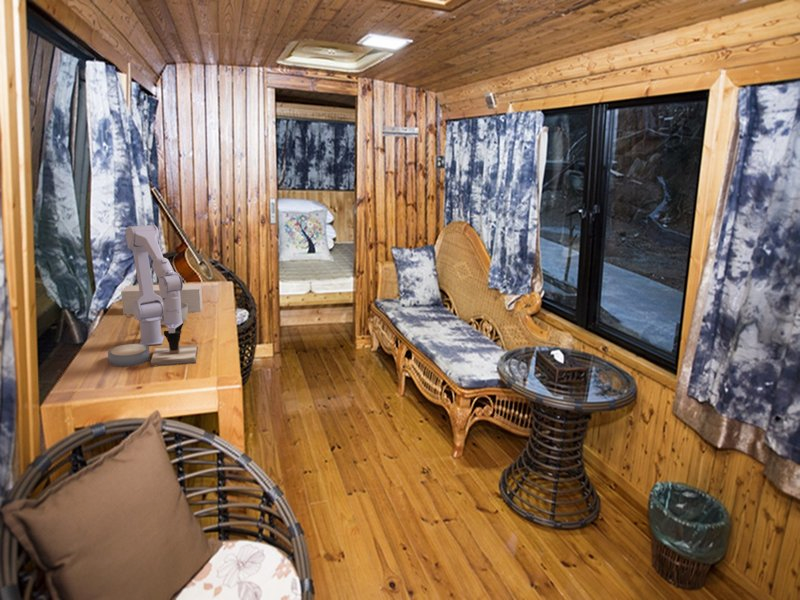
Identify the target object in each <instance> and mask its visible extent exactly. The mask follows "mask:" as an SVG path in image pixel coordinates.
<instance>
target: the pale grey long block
mask: <svg viewBox="0 0 800 600" xmlns="http://www.w3.org/2000/svg"><path fill="white" fill-rule="evenodd" d="M153 289H154V293H155V294H157V295H158V296H160V297H161V292H160V289H159V285H158V284H153ZM179 291H180V298H181V302H183V303H186V304H187V305H188V307H187V309H188V313H201V312H202V309H203V292H202V291H203V289H202V283H183V288H182V290H179ZM120 294H121V296H120V297H121V304H122V313H123V314H132V315H134V314H133V301H134V299H135V298H136V297H137V296H138V295H139V294H140V292H139V286H138V284H137V285H125V286H124V287H123V288H122V290H121V291H120ZM161 298H162V302H163V297H161ZM153 301H154V300H153ZM153 301H147V302H153ZM147 302H143V303H147ZM123 314H122V315H123Z"/></svg>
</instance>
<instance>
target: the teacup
mask: <svg viewBox="0 0 800 600" xmlns="http://www.w3.org/2000/svg"><path fill="white" fill-rule="evenodd" d="M187 307H188V305H187V304H186V303H183V302H181V313H182V321H183V323H184V322H186V321H187V319H188V313H189V312H188V309H187ZM160 321H161V322H162V321H164V315H163V316H162V319H160Z"/></svg>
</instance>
